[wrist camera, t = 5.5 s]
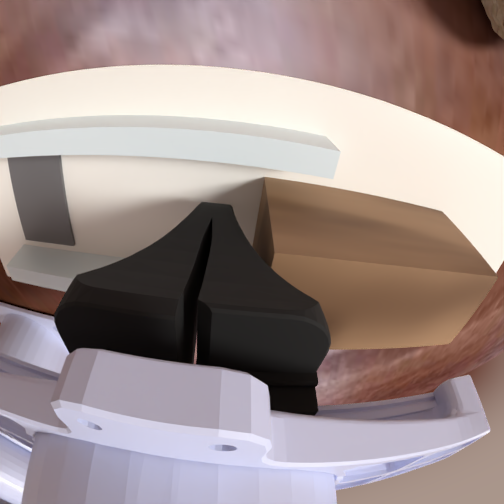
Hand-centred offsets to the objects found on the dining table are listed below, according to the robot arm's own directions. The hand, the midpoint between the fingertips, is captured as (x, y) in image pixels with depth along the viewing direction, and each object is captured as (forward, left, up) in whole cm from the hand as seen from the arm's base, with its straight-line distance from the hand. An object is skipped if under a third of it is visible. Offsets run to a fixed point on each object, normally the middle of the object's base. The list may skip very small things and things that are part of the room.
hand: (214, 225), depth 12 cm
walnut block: (0, -6, -1) cm, 6 cm away
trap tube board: (0, -2, -2) cm, 3 cm away
